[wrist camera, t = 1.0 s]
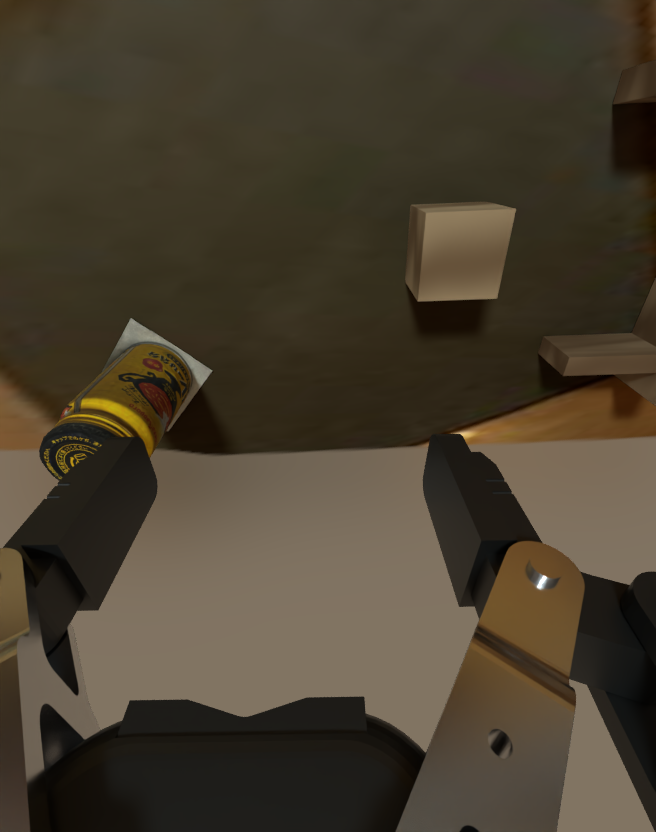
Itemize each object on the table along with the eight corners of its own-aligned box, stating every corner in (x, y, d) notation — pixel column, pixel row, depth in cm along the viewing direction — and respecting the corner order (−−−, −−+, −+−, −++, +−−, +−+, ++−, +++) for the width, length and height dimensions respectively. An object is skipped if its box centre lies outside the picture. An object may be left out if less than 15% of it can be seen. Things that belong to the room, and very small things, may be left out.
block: (410, 204, 25) (426, 212, 21) (485, 201, 25) (516, 208, 21) (404, 281, 28) (417, 301, 24) (472, 278, 28) (496, 298, 24)
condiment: (213, 369, 32) (160, 461, 22) (168, 430, 36) (106, 532, 26) (132, 316, 30) (32, 394, 20) (93, 388, 33) (-8, 484, 23)
